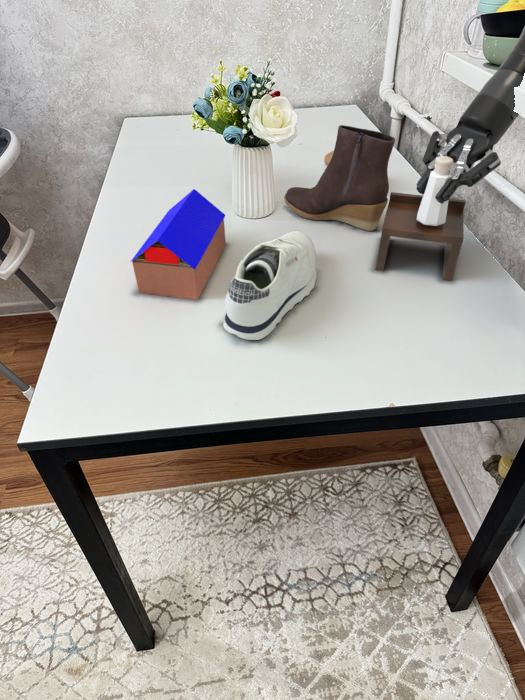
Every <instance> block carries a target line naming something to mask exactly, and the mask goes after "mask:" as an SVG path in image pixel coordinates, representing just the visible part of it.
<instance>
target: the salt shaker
mask: <svg viewBox="0 0 525 700" xmlns="http://www.w3.org/2000/svg"><path fill="white" fill-rule="evenodd" d="M452 163H453V159H452V158H450V157H448V156H440V157H437V158H436V164H435V169H434V171H431V173H430V176H429V179H428V183H427V186H426V189H425V192H424V194H422V196H423V198H422V201H421V204H420V207H419V210H418V213H417V220H418V221H419V222H421V223H422V224H424V225H431V226H438V225H441V224H444V223H445V222H446V215H447V207H448V200H447V201H446V202H445V201H444V203H443V204H441V203H439V202H438V201H437V200H436V198H435V197H436V195H437V193H438V192H439V191H440V189H441V188H442V187H443V185H444V184H445V183H446V181H447V180H448V179H452V175H453V172H451V170H452V165H453V164H454V163H453V164H452Z"/></svg>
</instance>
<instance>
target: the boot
mask: <svg viewBox="0 0 525 700" xmlns="http://www.w3.org/2000/svg"><path fill="white" fill-rule="evenodd" d="M336 134H337V135H336V140H335V144H334V149H333V151H334V153H333V156H332V158H331V160H330V162H329V164H328V166H327V168H326V169H325V171H324V170H323V173H322V174H321V176H320V178H319V179H318V181H317V183H316V184H315V186H313V187H311V188H309V187H302V186H292V187H289V188H288V189H287V190H286V193H285V194H284V202H285V204H286V206H287V207H288V208H289V209H290V210H291V211H293V213H296V214H297V215H299V216H300V217H303V218H304V219H308V220H312V221H329V220H330V221H338V222H342V223H345V224H348V225H351V226H353V227H355V228H357V229H360V230H362V231H367V232H372V231H375V230H376V229H377V227H378V225H379V223H380V221H381V218H382V215H383V213H384V211H385V208H386V206H388V203H389V198H388V195H389V191H390V189H389V188H390V183H389V176H388V169H389V161H390V157H391V155H392V152H393V149H394V145H395V142H396V138H395V137H393V136H391V135H389V134H387V133H384V132H382V131H378V130H377V131H376V130H371V129H367V128H361V127H355V126H350V125H345V124H344V125H343V124H341V125H340V124H339V125H338V127H337V133H336Z"/></svg>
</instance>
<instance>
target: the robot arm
mask: <svg viewBox="0 0 525 700" xmlns="http://www.w3.org/2000/svg"><path fill="white" fill-rule="evenodd" d="M524 73H525V26H524V27H523V29H522V31H521V34H520V35H519V38H518V39H517V41H516V43H515V45H514V47H513V48H512V49H511V51H510V53H509V54H508V55H507V56H506V58H505V60H504V61H503V62H502V63H501V64H500V66H499V68H497V70H496V71H495V73H493V75H492V76H491V77H490V78H489V79H488V80H487V82H485V84H484V85H483V86H482V88H481V89H480V91H479V92H478V93H477V95H476V96H475V97H474V99H473V100H472V101H471V103H470V104H469V106H468V107H467V108H466V109H465V110H464V112H463V113H462V115H461V116H460V118H459V119H458V121H457V122H458V123H457V125H456V126H455V127H454V128H452V129H451V130H450V131H449V132H448V133H440V132H439V131H438V130H435V131H433V132H432V133H431V136H430V138H429V142H428V145H427V147H426V149H425V152H424V155H423V158H422V163H423V164H424V166H425V167H426V170H425V171H424V173H423V174H422V175H421V177H420V178H419V180H418V181H417V183H416V189H415V190H417V192H418V193H419V195H420V194H421V195H424V192H425V189H426V186H427V183H428V179H429V176H430V173H431V171H434V169H435V164H436V158H437V157H440V156H447V157H450V158H452V159H453V163H452V165H453V164H454V163H455V164H456V167H455V169H454V170H453V172H452V178H451V179H448V180H447V181H446V183H445V184H444V185H443V187H442V188H441V189H440V191H439V192H438V193H437V195H436V197H435V198H436V200H437V201H438V202H439V203H441V204H443V203H444V201H445V202H446V201H447V200H449V199H451V197H452V196H453V195H454V194H455V192H456V191H457V190H458V188H459V187H462V186H467V187H468V188H472V187H474V186H475V185H476V184H477V183H479V182H480V181H481V180H483V179H485V177H487V176H488V175H489V174H490V173H492V172H493V171H494V170H496V169H497V168H498V167H500V165H501V164H502V161H501V159H500V156H499V155H498V153H497V152H496V151H493V149H494V146H496V145H497V144H498V143H499V141H500V140H501V139H502V138H503V137H504V135H505V134H506V133H507V131H508V130H509V128H510V127H511V126H512V125H513V124H514V122H515V121H516V120H517V118H518V117H519V116H520V115H519V114H518V113H516V112H514V111H513V110H514V107H515V103H514V102H515V100H514V98H515V95H514V87H518V86H520V84H521V82H522V80H523V76H524ZM476 162H478V163H477V164H476Z"/></svg>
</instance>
